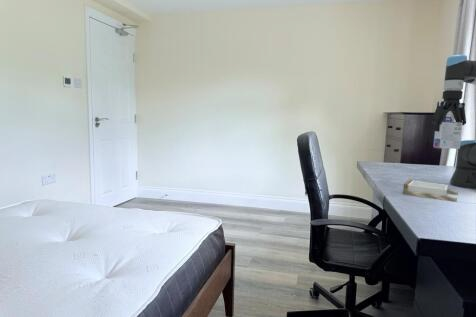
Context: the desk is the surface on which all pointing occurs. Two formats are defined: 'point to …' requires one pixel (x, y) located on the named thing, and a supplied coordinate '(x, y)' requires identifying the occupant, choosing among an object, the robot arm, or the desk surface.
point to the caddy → (428, 188)
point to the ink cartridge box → (449, 135)
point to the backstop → (429, 194)
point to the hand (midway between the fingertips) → (446, 138)
